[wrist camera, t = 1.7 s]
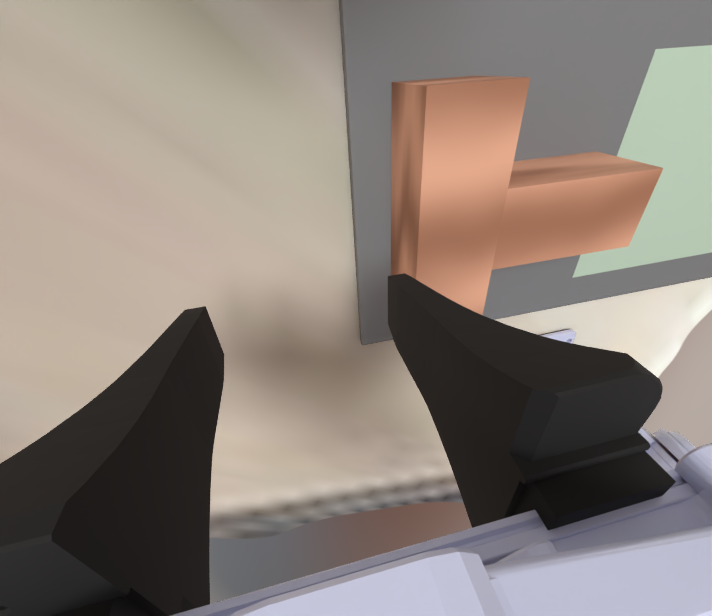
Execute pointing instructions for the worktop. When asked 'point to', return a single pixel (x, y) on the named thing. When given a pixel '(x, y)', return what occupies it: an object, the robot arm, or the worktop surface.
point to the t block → (495, 189)
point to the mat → (545, 127)
